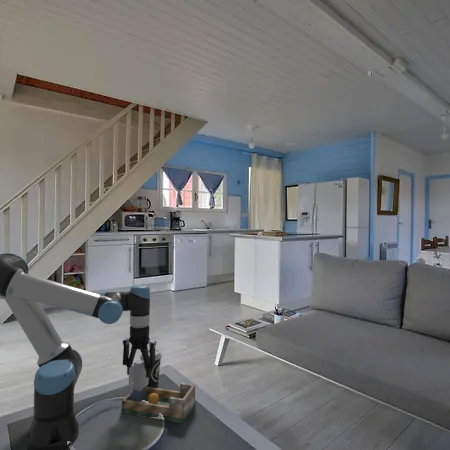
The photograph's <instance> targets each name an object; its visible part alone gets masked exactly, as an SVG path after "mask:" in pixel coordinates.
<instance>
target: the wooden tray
mask: <svg viewBox="0 0 450 450" xmlns="http://www.w3.org/2000/svg"><path fill="white" fill-rule="evenodd" d="M152 393H156V394H158V396H159V400H158V402H157V403H156V404H151V403H145V402H139V401H132V400H130V393H128V394H127V395H126V396H125V397H124V398H123V399H122V400H121V410H120V413H121V414H123V413H124V414H125V415H129V414H132V415H131V416H135V415H139V416H138V417H140V416H145V417H144V418H146V417H158V416H159V415H158V414H159V413H161V414H162V415H163V417H164V419H165V421H166V422H172V423H176V424H183V425H184V424H185V423H186V420H187V419H188V417H189V416H190V414H191V412H192V411H193V409H194V407H195V406H196V384H193V383H186V382H180V383H179V390H173V389H172V390H171V389H165V388H158V387H157V388H152V387H146V397H145V398H144V399H143V400H145V401H148V398H149V395H150V394H152ZM148 402H149V401H148ZM124 414H123V415H124Z"/></svg>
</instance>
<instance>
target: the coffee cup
mask: <svg viewBox="0 0 450 450" xmlns="http://www.w3.org/2000/svg"><path fill="white" fill-rule="evenodd" d="M148 354H149V358H150V348H148ZM162 357H163V354H162V352H161V350H160V349H157V348H155V362H156V365H155V366H154V367H153V368H152V369H151V375H150V377H149V384H148V385H147V386H146V387H152V388H158V386H159V379H160V372H161V370H160V368H161V361H162V360H161V359H162ZM139 360H141V361H144V359H143V355H142V353H141V354H140V355H139ZM144 369H145V364H144Z"/></svg>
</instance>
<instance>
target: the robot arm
mask: <svg viewBox="0 0 450 450" xmlns="http://www.w3.org/2000/svg"><path fill="white" fill-rule="evenodd" d="M0 299H1V300H4V301H5V303H6V304H7V305H8V308H9V309H10V310H11V312H12V314H13V316H14V317H15V319H16V321H17V322H18V324H19V326H20V327H21V329H22V330H23V332H24V334H25V336H26V337H27V339H28V341H29V342H30V344H31V346H32V347H33V349H34V351H35V352H36V354H37V355H38V359H37V362H36V365H37V366H38V367H39V368H38V369H37V370H36V372H35V374H34V380H33V386H34V387H33V391H34V392H33V419H32V422H31V426H30V429H29V431H28V434H27V437H26V449H27V450H62V449H65V448H66V447H68V446H69V445H67V441H70V442H72V443H73V442H75V441H76V440H77V438H78V436H79V432H80V425H79V422H78V420H77V417H76V414H75V410H74V403H75V402H74V401H75V387H76V384H77V382H78V379H79V376H80V374H81V372H82V369H83V359H82V355H81V354H80V353H79V352H78V350H76V349H73V348H72V346H71V344H70V343H69V342H64V341H63V340H62V338H61V337H60V334H59V333H58V331H57V330H56V328H55V326H54V325H53V323H52V321H51V320H50V317H49V316H48V314H47V313H46V311H45V309H44V307H43V305H42V304H44V305H47V306H51V307H54V308H55V307H56V308H58V309H63V310H67V311H70V312H75V313H78V314H81V315H86V316H89V317H92V318H96V319H99V320H100V322H102V323H103V324H106V325H112V324H115V323H117V322H118V321H119V320H120V319H121V317H122V314H123V312H130V313H129V338H127V337H126V338H125V339H123V340H122V345H123V346H122V347H123V350H122V366H126V374H127V376H128V385H130V386H131V385H133V371H134V360H135V356H136V353H137V350H140V353H141V354H142V355H143V359H144V364H145V369H144V385H143V387H146V386H147V385H148V384H149V377H150V375H151V369H152V368H153V367H154V366H155V365H156V362H155V349H156V346H157V341H156V340H155V341H153V340H151V339H150V321H151V320H150V316H151V315H150V314H151V313H150V312H151V309H150V307H151V289H150V287H149V286H148V285H145V284H137V285H131V286H130V289H129V290H128V291H103V292H99V293H96V292H91V291H89V290H84V289H81V288H78V287H75V286H71V285H68V284H63V283H60V282H57V281H54V280H50V279H47V278H43V277H39V276H35V275H32V274H29V265H28V262H27V261H26V260H25V258H24V257H23V256H21V255H18V254H16V253H9V252H8V253H1V254H0ZM130 345H131V347H130ZM148 347H149V348H148ZM148 349H150V358H149V354H148Z"/></svg>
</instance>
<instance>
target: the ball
mask: <svg viewBox="0 0 450 450" xmlns="http://www.w3.org/2000/svg"><path fill="white" fill-rule="evenodd" d="M158 400H159V396H158V394H156V393H152V394H150V395H149V398H148V401H149V403H151V404H156V403H157V402H158Z"/></svg>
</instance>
